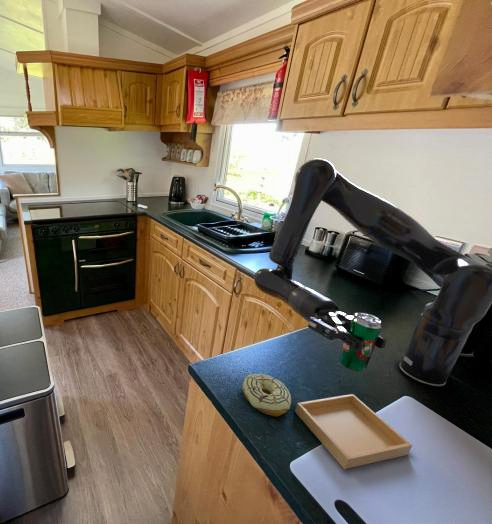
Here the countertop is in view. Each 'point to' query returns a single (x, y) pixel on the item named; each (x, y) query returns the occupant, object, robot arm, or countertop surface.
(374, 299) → the countertop surface
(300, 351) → the countertop surface
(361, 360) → the soda can
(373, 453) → the serving tray
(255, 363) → the countertop surface
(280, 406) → the decorated donut
